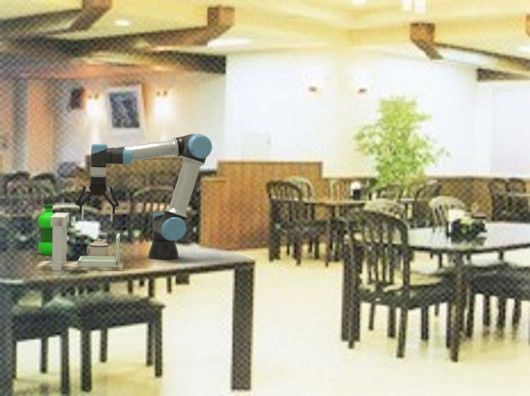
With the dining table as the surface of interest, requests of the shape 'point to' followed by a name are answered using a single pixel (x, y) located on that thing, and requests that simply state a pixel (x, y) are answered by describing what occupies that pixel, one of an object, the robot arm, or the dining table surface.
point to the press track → (76, 266)
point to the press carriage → (102, 258)
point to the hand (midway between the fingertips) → (97, 220)
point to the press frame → (59, 239)
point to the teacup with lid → (98, 248)
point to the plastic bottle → (46, 231)
